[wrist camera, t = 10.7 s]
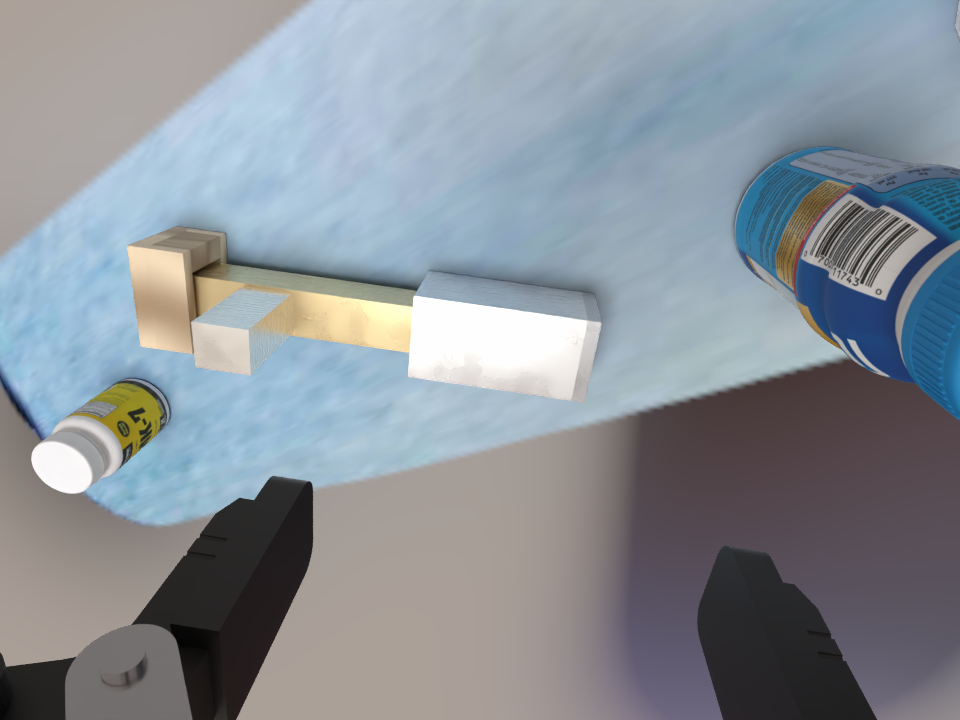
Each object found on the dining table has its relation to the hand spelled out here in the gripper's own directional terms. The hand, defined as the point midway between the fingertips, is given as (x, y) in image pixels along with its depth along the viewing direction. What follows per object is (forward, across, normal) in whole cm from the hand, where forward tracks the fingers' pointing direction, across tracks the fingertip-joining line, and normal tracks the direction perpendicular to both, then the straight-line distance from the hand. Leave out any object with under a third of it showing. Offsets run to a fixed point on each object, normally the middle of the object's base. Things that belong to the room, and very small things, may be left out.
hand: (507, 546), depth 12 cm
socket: (+28, +21, +6) cm, 36 cm away
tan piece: (+27, +12, +6) cm, 30 cm away
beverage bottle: (+28, -16, -3) cm, 33 cm away
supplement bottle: (+28, +27, +17) cm, 43 cm away
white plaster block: (+28, +1, +6) cm, 29 cm away
